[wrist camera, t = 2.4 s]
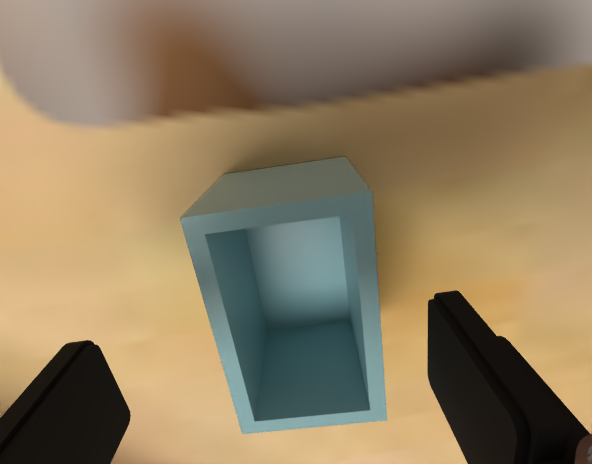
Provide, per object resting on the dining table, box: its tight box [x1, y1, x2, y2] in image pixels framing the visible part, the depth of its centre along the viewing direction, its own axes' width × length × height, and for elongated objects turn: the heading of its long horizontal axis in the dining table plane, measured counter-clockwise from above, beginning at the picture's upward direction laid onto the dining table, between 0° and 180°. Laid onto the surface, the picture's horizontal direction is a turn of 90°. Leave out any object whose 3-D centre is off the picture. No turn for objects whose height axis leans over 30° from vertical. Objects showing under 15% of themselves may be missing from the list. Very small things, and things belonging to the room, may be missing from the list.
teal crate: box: [180, 157, 387, 434], centre depth 14 cm, size 6×9×6 cm, turn 8°
